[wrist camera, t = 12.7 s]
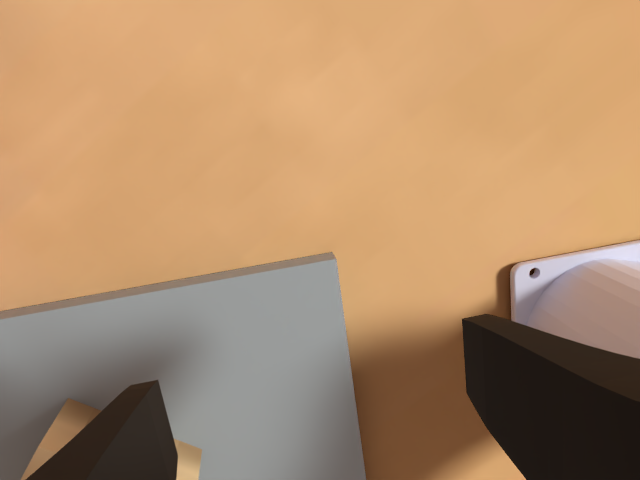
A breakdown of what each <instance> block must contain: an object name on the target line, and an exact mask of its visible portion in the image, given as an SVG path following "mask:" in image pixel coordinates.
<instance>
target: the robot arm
mask: <svg viewBox="0 0 640 480" xmlns="http://www.w3.org/2000/svg"><path fill="white" fill-rule="evenodd" d="M533 268H535V272H534V274H533V275H531V276H530V275H529V273H530V271H531V269H533ZM510 288H511V320H512V321H511V320H507V319H504V318H501V317H497V316H493V315H488V314H484V315H479V316H474V317H469V318H464V319H462V326H463V342H464V358H465V374H466V390H467V394H468V396H469V398H470V400H471V402H472V403H473V405H474V407H475V409H476V411H477V412H478V414H479V416H480V417H481V419H482V421H483V422H484V424H485V426H486V427H487V429H488V430H489V432H490V433H491V434H492V436H493V437H494V438H495V440H496V441H497V442H498V443H499V445H500V446H501V447H502V449H503V450H504V451H505V453H506V454H507V455H508V456H509V458H510V459H511V460H512V462H513V463H514V464H515V465H516V467H517V468H518V469H519V471H520V472H521V473H522V474H523V476H524V477H525V478H526V480H640V240H637V241H631V242H626V243H621V244H615V245H610V246H605V247H600V248H594V249H589V250H584V251H578V252H573V253H568V254H563V255H557V256H552V257H547V258H541V259H536V260H531V261H526V262H520V263H518V264H516V265H514V266H513V268H512V269H511V272H510ZM177 464H178V453H177V450H176V446H175V442H174V438H173V434H172V431H171V427H170V423H169V419H168V415H167V412H166V408H165V404H164V400H163V397H162V393H161V389H160V385H159V381H158V380H154V381H149V382H144V383H139V384H134V385H130V386H129V387H128V388H126V389H125V390H124V391H123V392H121V393H120V394H119V395H118V396H117V397H116V398H115V399H114V400H113V401H112V402H111V403H110V404H109V405H107V406H106V407H105V408H104V409H103V410H102V411H101V412H100V413H99V414H98V415H97V416H96V417H95V418H94V419H93V420H92V421H91V422H90V423H89V424H87V425H86V426H85V427H84V428H83V429H82V430H81V431H80V432H79V433H78V434H77V435H76V436H75V437H74V438H73V439H72V440H70V441H69V442H68V443H67V444H66V445H65V446H64V447H62V448H61V449H60V450H59V451H58V452H57V453H56V454H54V455H53V456H52V457H51V458H50V459H49V460H48V461H46V462H45V463H44V464H43V465H42V466H41V467H40V468H38V469H37V470H36V471H35V472H34V473H33V474H31V475H30V476H29V477H28V478H27V479H25V480H176V478H177Z"/></svg>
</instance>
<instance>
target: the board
mask: <svg viewBox="0 0 640 480" xmlns="http://www.w3.org/2000/svg"><path fill="white" fill-rule="evenodd" d="M154 380H158V381H159V385H160V389H161V393H162V397H163V400H164V404H165V408H166V412H167V415H168V419H169V423H170V427H171V431H172V434H173V438H174V439H176V440H179V441H182V442H184V443H187V444H190V445H192V446H195V447H197V448H200V449H202V455H201V463H200V470H199V478H198V480H366V474H365V467H364V459H363V452H362V445H361V437H360V430H359V423H358V415H357V408H356V401H355V393H354V386H353V379H352V371H351V364H350V357H349V349H348V342H347V335H346V327H345V320H344V312H343V305H342V298H341V290H340V283H339V276H338V268H337V261H336V258H335V256H334V255H333V253H332V252H330V253H325V254H319V255H313V256H308V257H302V258H297V259H291V260H285V261H280V262H274V263H269V264H263V265H257V266H252V267H246V268H241V269H235V270H229V271H224V272H218V273H213V274H207V275H201V276H196V277H190V278H185V279H179V280H174V281H168V282H162V283H157V284H151V285H146V286H140V287H134V288H129V289H123V290H118V291H112V292H106V293H101V294H95V295H90V296H84V297H78V298H73V299H67V300H62V301H56V302H50V303H45V304H39V305H34V306H28V307H22V308H17V309H11V310H6V311H0V480H21V478H22V476H23V474H24V472H25V471H26V469H27V467H28V465H29V463H30V461H31V459H32V457H33V455H34V454H35V452H36V450H37V448H38V446H39V445H40V443H41V441H42V440H43V438H44V436H45V435H46V433H47V432H48V430H49V428H50V427H51V425H52V424H53V422H54V420H55V419H56V417H57V415H58V414H59V412H60V411H61V409H62V407H63V406H64V404H65V403H66V401H67V399H68V398H70V399H72V400H75V401H77V402H80V403H83V404H85V405H88V406H90V407H93V408H96V409H98V410H101V411H102V410H103V409H104V408H105V407H106V406H107V405H109V404H110V403H111V402H112V401H113V400H114V399H115V398H116V397H117V396H118V395H119V394H120V393H121V392H123V391H124V390H125V389H126V388H128V387H129V386H130V385H134V384H139V383H144V382H149V381H154Z"/></svg>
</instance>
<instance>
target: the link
mask: <svg viewBox="0 0 640 480" xmlns="http://www.w3.org/2000/svg"><path fill="white" fill-rule="evenodd" d="M100 412H101V410H98V409H96V408H93V407H90V406H88V405H85V404H83V403H80V402H77V401H75V400H72V399H70V398H68V399H67V401H66V403H65V404H64V406H63V407H62V409H61V411H60V412H59V414H58V415H57V417H56V419H55V420H54V422H53V424H52V425H51V427H50V428H49V430H48V432H47V433H46V435H45V436H44V438H43V440H42V441H41V443H40V445H39V446H38V448H37V450H36V452H35V454H34V455H33V457H32V459H31V461H30V463H29V465H28V467H27V469H26V471H25V472H24V474H23V476H22V478H21V480H25V479H27V478H28V477H29V476H30V475H31V474H33V473H34V472H35V471H36V470H37V469H38V468H40V467H41V466H42V465H43V464H44V463H45V462H46V461H48V460H49V459H50V458H51V457H52V456H53V455H54V454H56V453H57V452H58V451H59V450H60V449H61V448H62V447H64V446H65V445H66V444H67V443H68V442H69V441H70V440H72V439H73V438H74V437H75V436H76V435H77V434H78V433H79V432H80V431H81V430H82V429H83V428H84V427H85V426H86V425H87V424H89V423H90V422H91V421H92V420H93V419H94V418H95V417H96V416H97V415H98V414H99V413H100ZM174 442H175V446H176V450H177V453H178V464H177V478H176V480H198V478H199V470H200V463H201V455H202V449H200V448H197V447H195V446H192V445H190V444H187V443H184V442H182V441H179V440H176V439H174Z"/></svg>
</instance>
